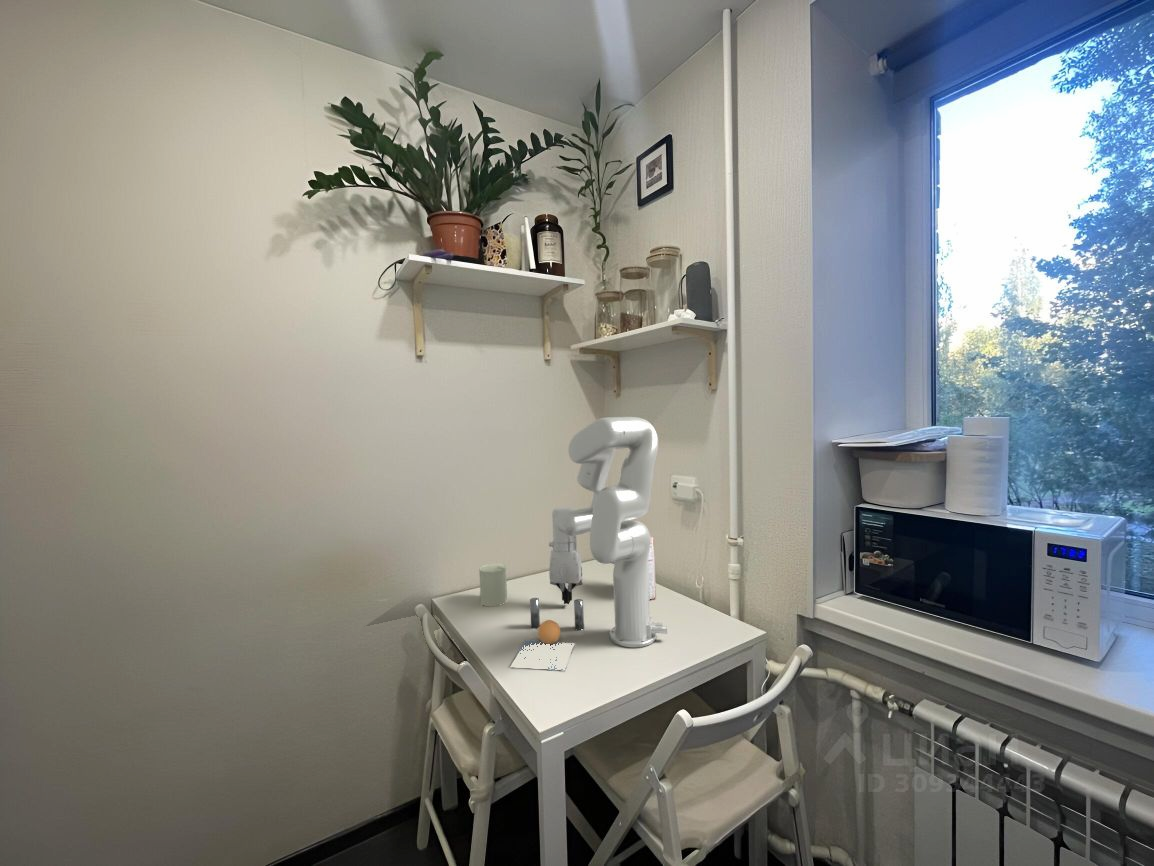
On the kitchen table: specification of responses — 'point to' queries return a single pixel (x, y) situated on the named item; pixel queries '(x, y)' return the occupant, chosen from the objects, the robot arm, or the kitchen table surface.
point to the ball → (549, 632)
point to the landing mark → (528, 642)
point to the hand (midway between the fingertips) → (567, 602)
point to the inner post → (579, 614)
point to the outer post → (534, 612)
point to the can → (493, 584)
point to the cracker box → (651, 571)
